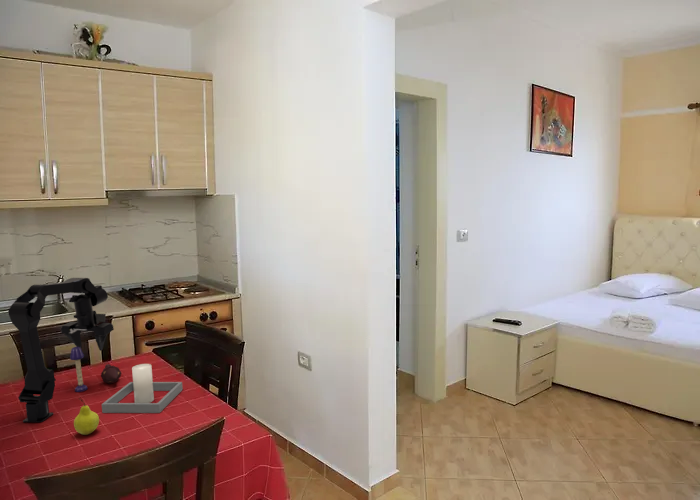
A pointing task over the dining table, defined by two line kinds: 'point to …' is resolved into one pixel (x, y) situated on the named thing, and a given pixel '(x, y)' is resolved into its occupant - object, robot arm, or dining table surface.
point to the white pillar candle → (143, 383)
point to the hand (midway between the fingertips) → (90, 349)
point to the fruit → (86, 420)
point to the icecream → (110, 374)
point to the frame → (115, 407)
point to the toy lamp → (78, 367)
